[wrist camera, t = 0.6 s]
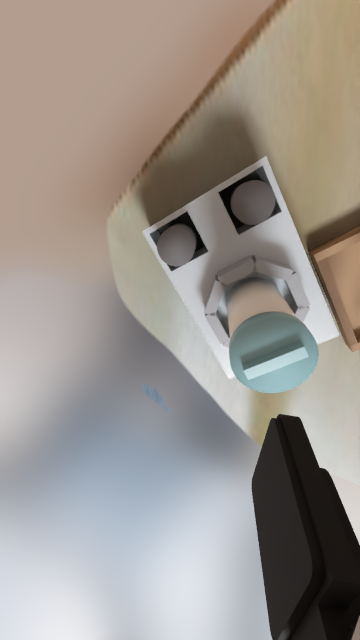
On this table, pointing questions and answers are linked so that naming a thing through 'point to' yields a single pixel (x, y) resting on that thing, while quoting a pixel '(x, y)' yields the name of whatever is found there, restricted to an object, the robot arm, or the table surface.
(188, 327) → the table surface
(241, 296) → the cylinder
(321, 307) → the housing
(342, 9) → the table surface
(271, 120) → the table surface
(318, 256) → the tray
